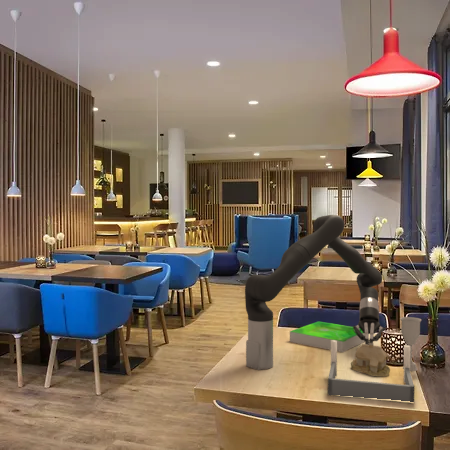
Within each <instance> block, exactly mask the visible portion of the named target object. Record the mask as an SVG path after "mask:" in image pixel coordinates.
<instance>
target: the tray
mask: <svg viewBox="0 0 450 450" xmlns="http://www.w3.org/2000/svg"><path fill="white" fill-rule="evenodd" d="M359 330H360V332H361V333H362V334H363V335H364V336H365V333H363V332H362V330H361V329H360V328H359ZM368 337H369V338H370V334H368ZM331 340H336V341H337V353H338V352H339V353H344V352H347V351H349V350H350V349H352V348H355V347H357V346H359V345H362V344H364V343H365V341H364V340H361V339H360V338H359V337H358V336H357V335H356V333H355V332H354V331H353V326H351V325H350V326H349V325H342V324H336V323H331V322H324V321H316V322H313V323H310V324H307V325H304V326H301V327H299V328H295V329H293V330H290V331H289V342H290V343H294V344H299V345H304V346H310V347H314V348H320V349H324V350H329V351H331Z"/></svg>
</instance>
